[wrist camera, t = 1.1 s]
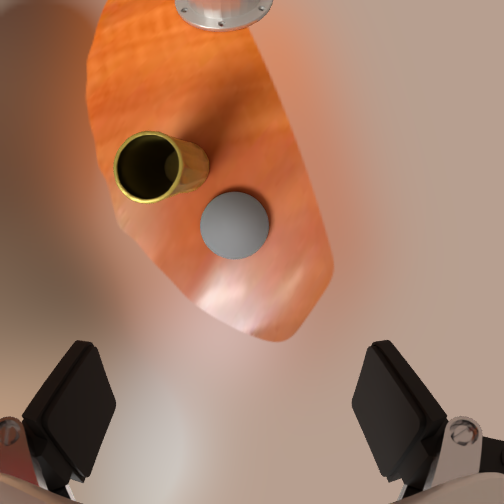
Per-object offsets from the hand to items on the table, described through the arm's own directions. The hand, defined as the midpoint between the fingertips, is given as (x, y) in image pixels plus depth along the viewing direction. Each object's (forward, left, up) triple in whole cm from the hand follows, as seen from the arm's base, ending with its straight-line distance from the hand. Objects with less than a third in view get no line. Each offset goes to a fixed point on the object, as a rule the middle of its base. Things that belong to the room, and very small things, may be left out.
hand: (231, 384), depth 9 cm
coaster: (0, 0, -26) cm, 26 cm away
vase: (-7, -6, -26) cm, 28 cm away
